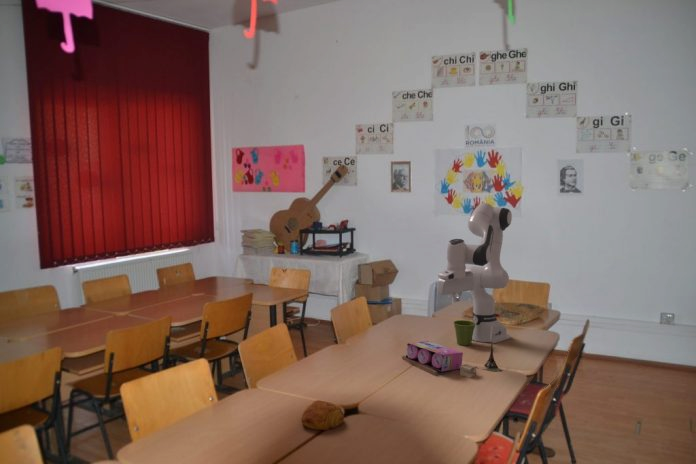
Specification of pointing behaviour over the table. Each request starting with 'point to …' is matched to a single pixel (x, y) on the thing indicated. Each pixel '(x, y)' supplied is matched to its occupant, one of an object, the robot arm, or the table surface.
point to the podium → (427, 368)
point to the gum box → (434, 355)
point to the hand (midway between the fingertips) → (456, 301)
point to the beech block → (468, 370)
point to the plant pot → (464, 331)
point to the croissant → (322, 415)
